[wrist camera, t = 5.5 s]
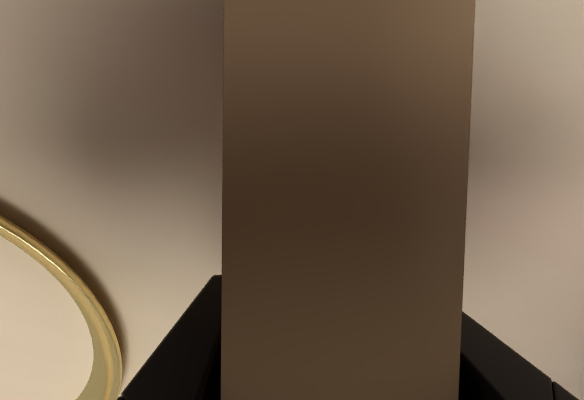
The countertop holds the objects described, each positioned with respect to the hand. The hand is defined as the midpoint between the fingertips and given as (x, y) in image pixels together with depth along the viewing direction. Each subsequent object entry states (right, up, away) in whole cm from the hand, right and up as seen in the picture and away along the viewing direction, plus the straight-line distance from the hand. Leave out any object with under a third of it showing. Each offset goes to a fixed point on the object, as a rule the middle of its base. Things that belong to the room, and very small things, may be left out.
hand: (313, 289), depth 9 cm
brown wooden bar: (0, +3, +2) cm, 3 cm away
